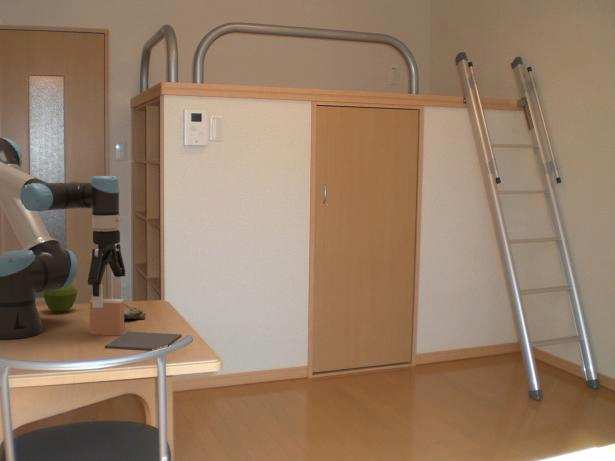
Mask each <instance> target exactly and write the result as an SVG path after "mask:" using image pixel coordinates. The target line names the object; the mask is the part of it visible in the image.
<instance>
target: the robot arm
mask: <svg viewBox="0 0 615 461" xmlns="http://www.w3.org/2000/svg"><path fill="white" fill-rule="evenodd" d="M21 158H23V155H22V152H21V149H20V147H19V146H18V145H17V143H16V142H15V141H13V140H12V139H10V138H7V137H2V136H0V206H1V208H2V210H3V211H4V214H5V216H6V217H7V219H8V221H9V224H10V226H11V228H12V229H13V232H14V233H15V235H16V237H17V240H18V242H19V243H20V245H21V248H22V249H17V250H9V251H5V252H4V251H3V252H1V253H0V340H11V339H13V340H14V339H23V338H29V337H33V336H37V335H38V334H39V335H40V334H41V333H42V332H43V321H42V320H41V316H40V314H39V311H38V308H37V304H36V294H37V293H43V292H44V291H49V290H54V289H60V288H62V287H66V286H68V285H70V284H71V285H72V284H73V283H74V281H75V280H76V277H77V274H78V269H79V266H78V265H79V264H78V260H77V256H76V255H75V254H74V252H72V250H69V249H67V248H62V245H61V244H60V242H59V240H58V239H56V238H53V237H51V236H50V234H49V232H48V230H47V228H46V226H45V224H44V222H43V220H42V217H41V216H40V214H39V212H44V211H45V212H46V211H55V210H70V209H71V210H73V209H91V217H92V218H91V219H92V220H91V222H92V223H91V224H92V225H91V227H92V229H93V232H92V243H93V244H94V245H97V248H92V250H91V255H92V256H91V261H90V267H89V273H88V277H87V284H88V285H90V286H91V294H92V296H91V297H92V298H91V299H92V302H93V308H103V298H104V296H103V294H104V293H103V292H104V291H103V284H101V283H102V280H103V277H104V274H105V271H106V267H107V265H109V267H110V269H111V272H112V275H113V276H112V277H111V278H112V299H123V277H126V268H125V263H124V260H123V255H122V252H121V243H120V242H121V231H120V230H119V229H120V228H121V227H120V222H121V220H122V219H121V218H120V191H121V190H120V185H119V178H118V177H117V176H116V175H93V176H92V177H91V181H90V182H80V181H78V182H77V181H68V182H46V181H44V180H42V179H39V178H37V177H35V176H33V175H31V174H29V173H27V172H24V171H22V170H21V169H22V168H21V167H22V164H23V160H22V159H21Z"/></svg>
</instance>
